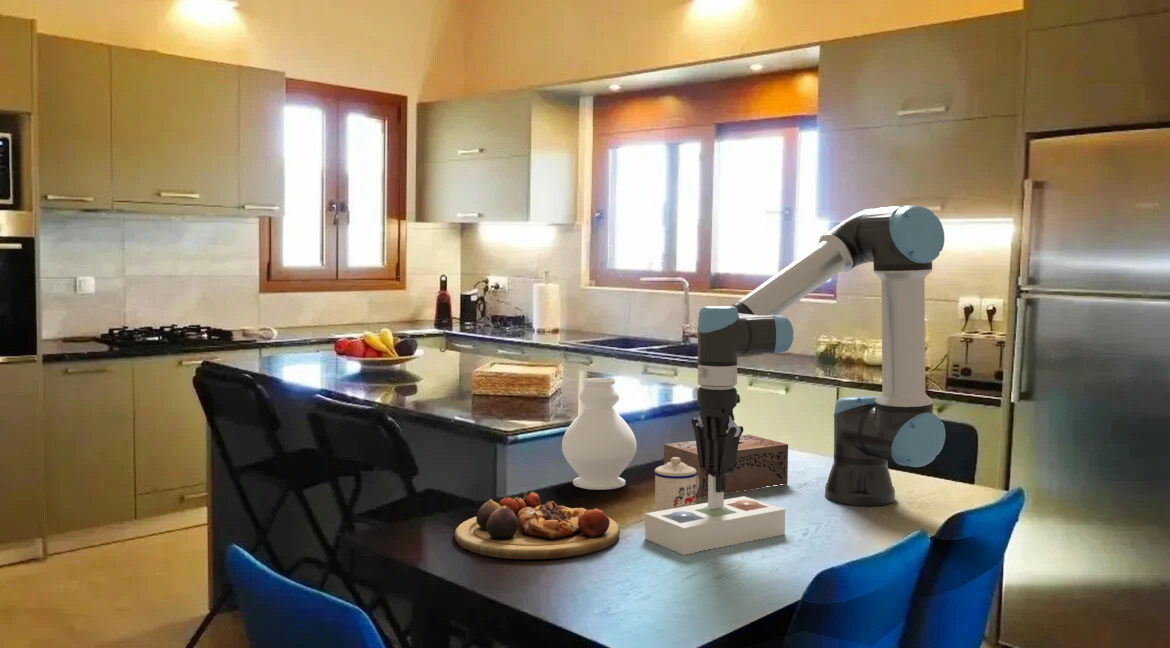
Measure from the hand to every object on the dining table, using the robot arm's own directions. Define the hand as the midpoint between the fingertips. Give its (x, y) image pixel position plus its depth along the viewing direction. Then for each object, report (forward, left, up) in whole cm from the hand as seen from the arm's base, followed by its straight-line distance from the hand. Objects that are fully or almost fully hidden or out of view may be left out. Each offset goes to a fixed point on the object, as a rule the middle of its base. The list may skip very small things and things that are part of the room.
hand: (715, 507), depth 187 cm
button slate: (+8, 0, -4) cm, 9 cm away
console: (0, 0, -6) cm, 6 cm away
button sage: (0, 0, -4) cm, 4 cm away
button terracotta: (-8, 0, -4) cm, 9 cm away
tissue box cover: (-30, -32, -6) cm, 44 cm away
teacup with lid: (-6, -19, -6) cm, 21 cm away
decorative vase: (-5, -49, -6) cm, 50 cm away
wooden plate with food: (+29, -19, -6) cm, 35 cm away
